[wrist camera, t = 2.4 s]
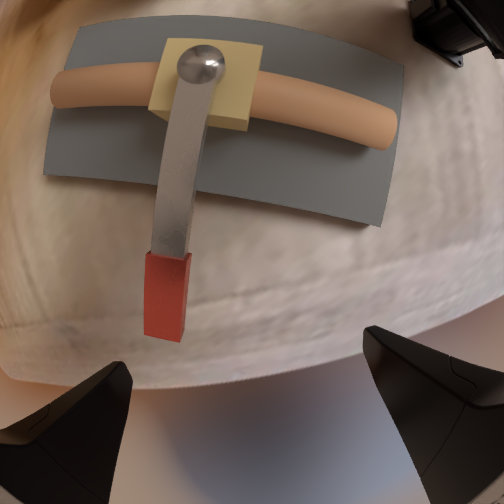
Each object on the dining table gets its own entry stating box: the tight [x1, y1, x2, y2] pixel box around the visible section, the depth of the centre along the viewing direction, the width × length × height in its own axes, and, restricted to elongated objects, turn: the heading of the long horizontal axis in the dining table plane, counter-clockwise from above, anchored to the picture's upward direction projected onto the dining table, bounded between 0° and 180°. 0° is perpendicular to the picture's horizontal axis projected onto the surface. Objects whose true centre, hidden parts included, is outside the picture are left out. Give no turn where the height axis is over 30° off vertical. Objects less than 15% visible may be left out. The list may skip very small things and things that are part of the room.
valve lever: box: [144, 45, 226, 343], centre depth 13 cm, size 16×2×1 cm, turn 170°
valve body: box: [43, 15, 404, 227], centre depth 15 cm, size 28×14×6 cm, turn 80°
